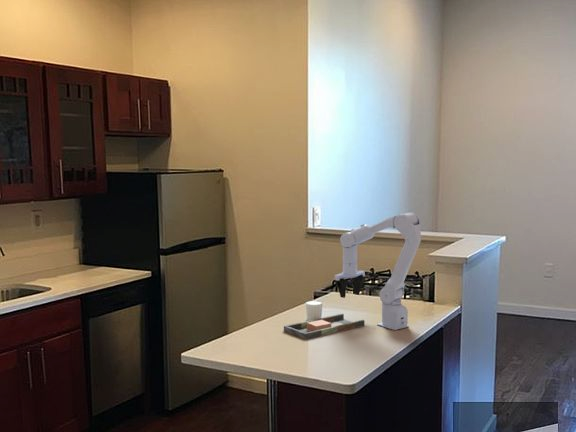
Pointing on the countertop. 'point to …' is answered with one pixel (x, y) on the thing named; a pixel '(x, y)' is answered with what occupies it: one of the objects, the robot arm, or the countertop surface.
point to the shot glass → (313, 310)
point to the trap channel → (297, 331)
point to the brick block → (318, 325)
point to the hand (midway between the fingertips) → (349, 295)
